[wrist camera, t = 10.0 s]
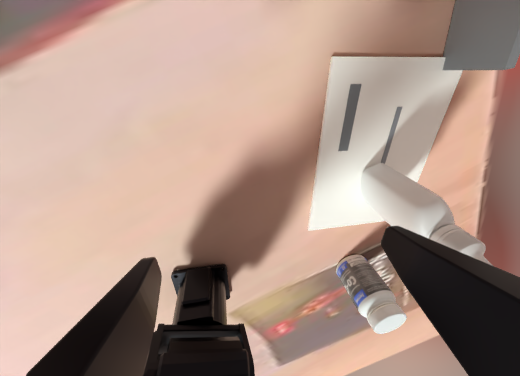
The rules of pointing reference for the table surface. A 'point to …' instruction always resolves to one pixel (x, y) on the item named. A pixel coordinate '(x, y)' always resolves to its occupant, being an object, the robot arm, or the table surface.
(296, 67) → the table surface
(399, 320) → the pill bottle
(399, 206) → the white plastic bottle
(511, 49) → the gray rectangular block
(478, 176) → the table surface
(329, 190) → the paper sheet
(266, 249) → the table surface
